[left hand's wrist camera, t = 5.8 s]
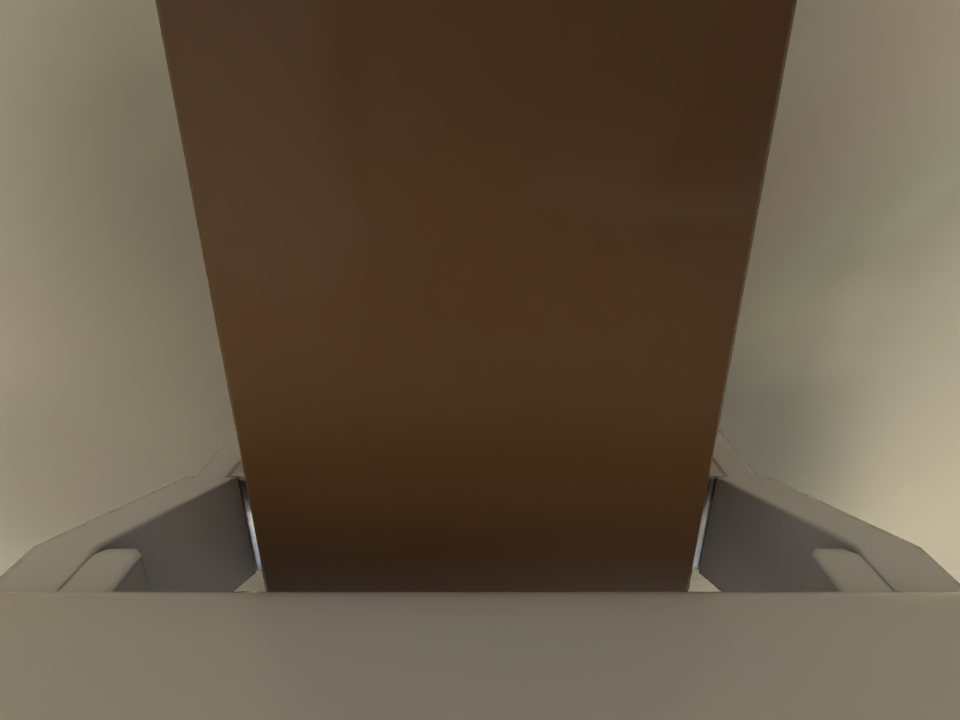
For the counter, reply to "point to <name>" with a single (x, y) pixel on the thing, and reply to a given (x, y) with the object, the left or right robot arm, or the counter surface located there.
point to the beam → (476, 275)
